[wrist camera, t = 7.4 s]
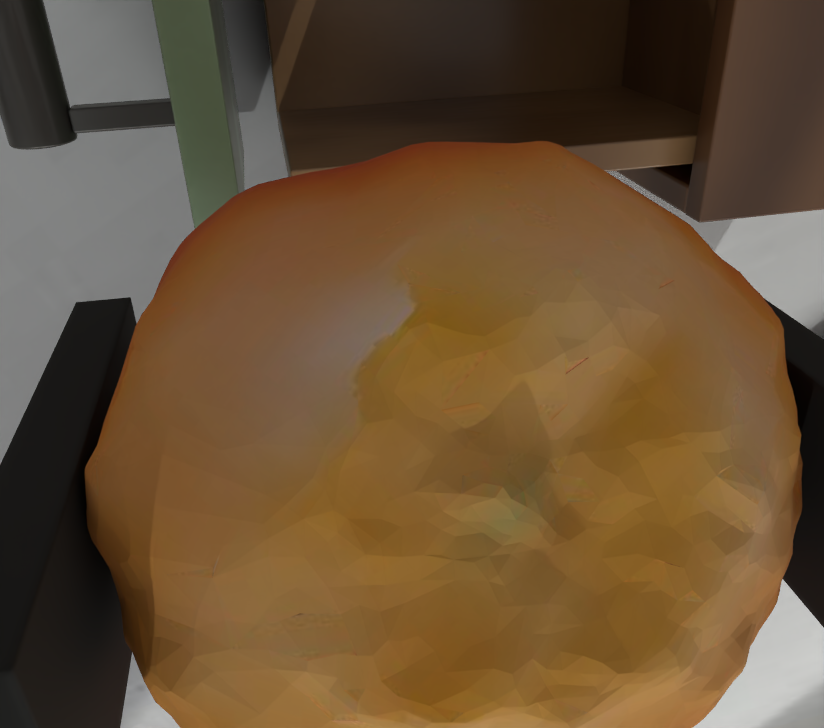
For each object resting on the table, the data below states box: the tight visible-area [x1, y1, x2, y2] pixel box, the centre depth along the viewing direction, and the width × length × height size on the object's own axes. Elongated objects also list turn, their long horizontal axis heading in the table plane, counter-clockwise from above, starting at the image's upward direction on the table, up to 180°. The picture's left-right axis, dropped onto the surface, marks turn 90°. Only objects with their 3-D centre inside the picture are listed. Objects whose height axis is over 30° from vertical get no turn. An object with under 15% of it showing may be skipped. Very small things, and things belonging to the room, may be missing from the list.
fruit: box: [85, 141, 803, 728], centre depth 10 cm, size 8×8×8 cm
